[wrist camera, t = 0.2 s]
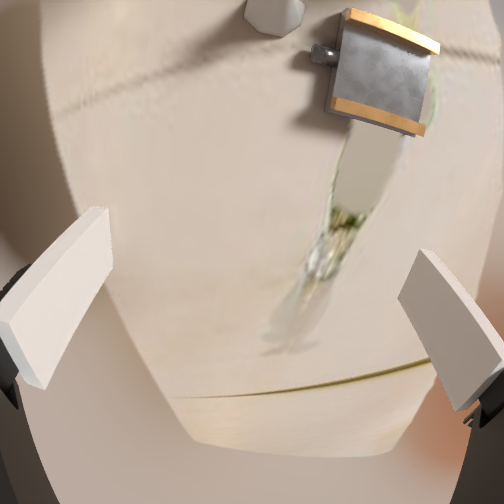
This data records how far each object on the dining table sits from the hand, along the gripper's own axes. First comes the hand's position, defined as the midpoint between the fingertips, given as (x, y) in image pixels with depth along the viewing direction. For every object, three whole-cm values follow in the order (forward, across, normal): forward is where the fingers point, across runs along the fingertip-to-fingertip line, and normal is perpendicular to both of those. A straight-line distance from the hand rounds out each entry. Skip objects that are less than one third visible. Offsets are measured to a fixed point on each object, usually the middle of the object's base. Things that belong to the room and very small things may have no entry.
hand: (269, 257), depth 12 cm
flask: (+28, 0, +17) cm, 33 cm away
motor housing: (+27, +12, +12) cm, 32 cm away
